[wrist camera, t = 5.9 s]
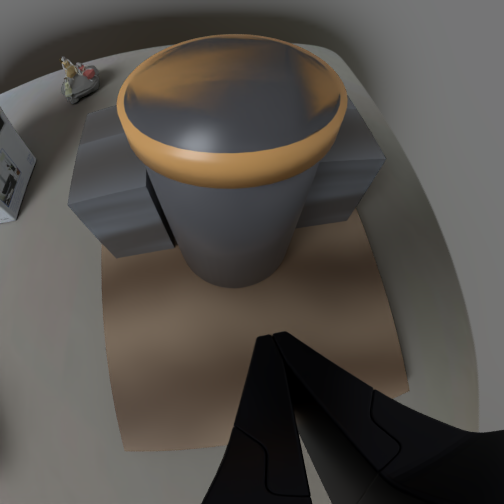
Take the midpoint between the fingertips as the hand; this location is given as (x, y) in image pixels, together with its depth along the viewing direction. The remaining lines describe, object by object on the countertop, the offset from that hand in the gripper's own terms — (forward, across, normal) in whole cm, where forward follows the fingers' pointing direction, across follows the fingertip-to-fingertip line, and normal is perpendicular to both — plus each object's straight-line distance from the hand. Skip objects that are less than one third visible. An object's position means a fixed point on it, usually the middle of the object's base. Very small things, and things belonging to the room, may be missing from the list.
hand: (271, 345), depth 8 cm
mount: (+9, 0, +2) cm, 9 cm away
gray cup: (+9, 0, 0) cm, 9 cm away
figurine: (+25, +13, -14) cm, 32 cm away
